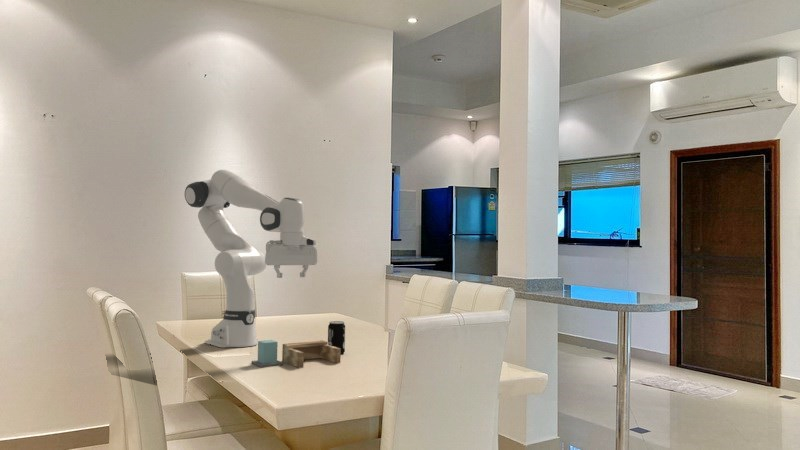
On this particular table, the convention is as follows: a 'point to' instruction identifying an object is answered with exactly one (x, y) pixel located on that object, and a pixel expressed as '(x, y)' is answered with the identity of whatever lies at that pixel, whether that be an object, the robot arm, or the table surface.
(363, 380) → the table surface
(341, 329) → the beverage can
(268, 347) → the block
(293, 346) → the wooden u-shaped holder
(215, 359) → the table surface
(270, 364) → the pad
